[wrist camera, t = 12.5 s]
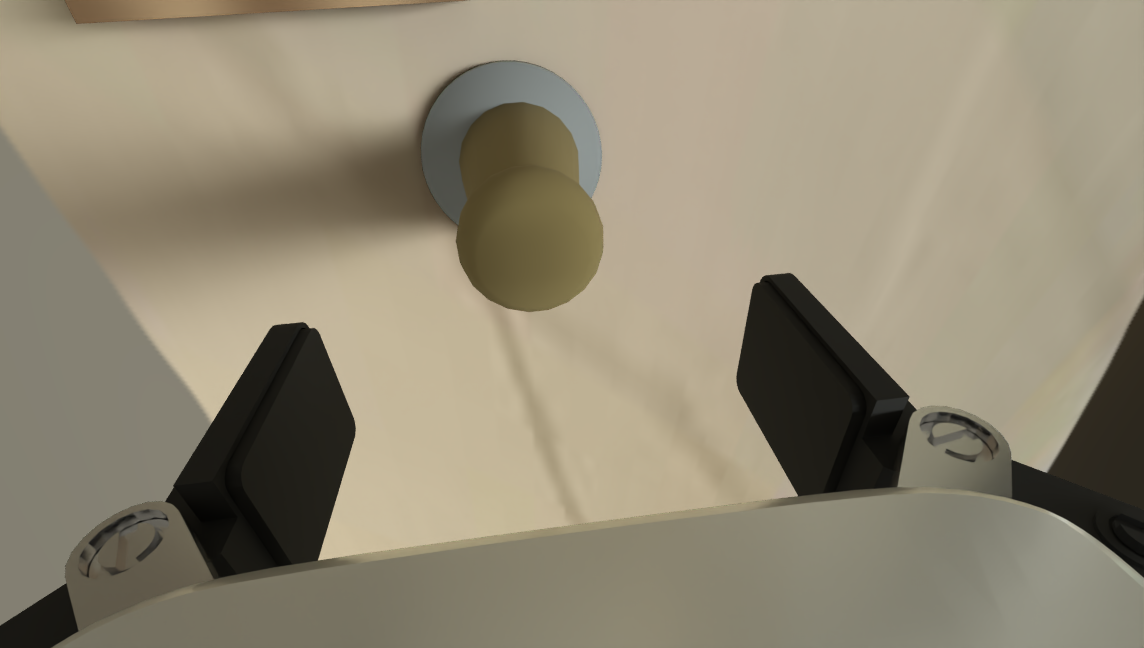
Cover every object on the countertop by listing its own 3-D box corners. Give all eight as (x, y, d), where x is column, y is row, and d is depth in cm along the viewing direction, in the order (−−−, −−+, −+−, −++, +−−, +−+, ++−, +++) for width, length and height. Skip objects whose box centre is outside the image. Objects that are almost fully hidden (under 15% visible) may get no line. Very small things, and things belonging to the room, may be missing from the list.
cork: (459, 219, 27) (442, 336, 18) (458, 96, 24) (436, 164, 15) (572, 225, 28) (610, 339, 19) (586, 107, 25) (638, 178, 16)
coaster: (598, 54, 24) (600, 55, 24) (601, 231, 29) (603, 236, 29) (403, 67, 24) (402, 69, 23) (440, 247, 29) (439, 251, 28)
